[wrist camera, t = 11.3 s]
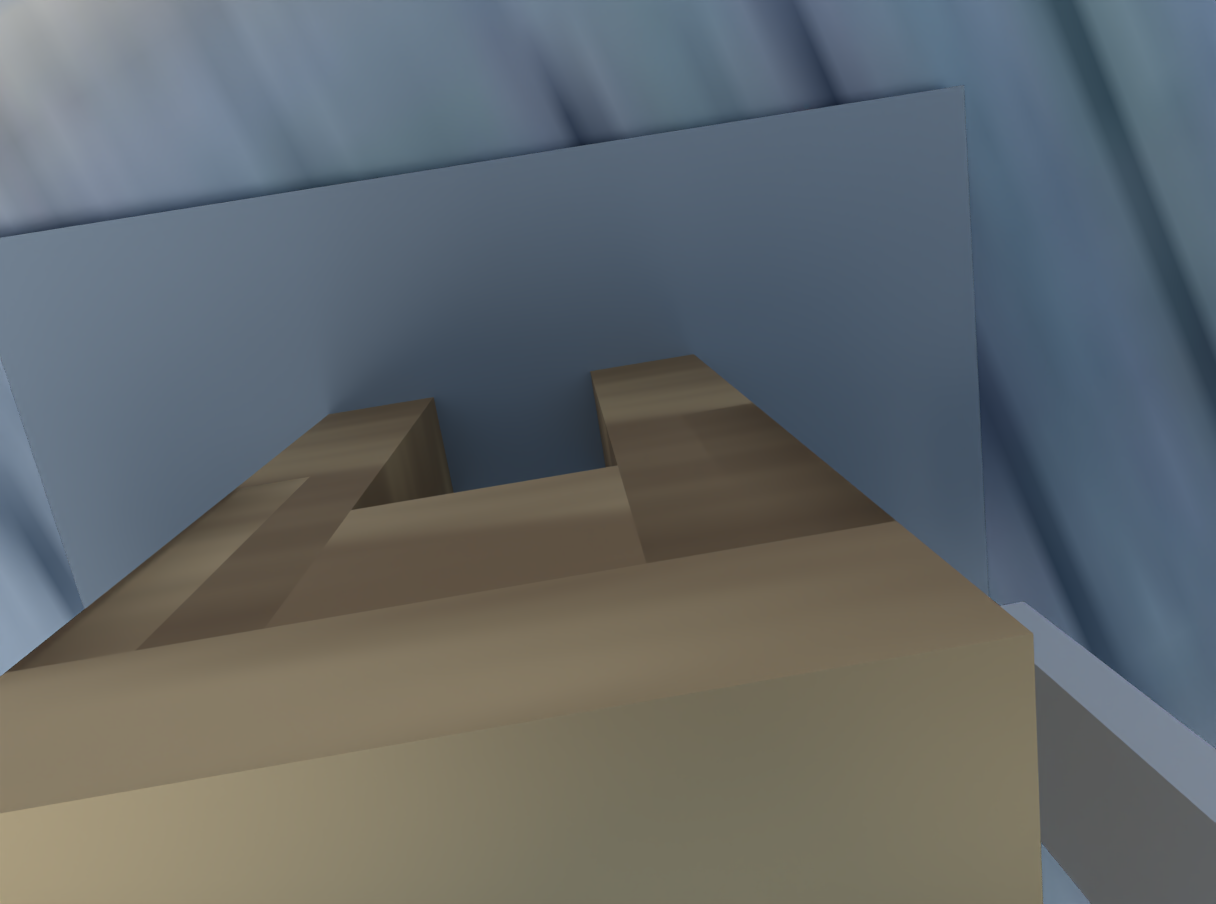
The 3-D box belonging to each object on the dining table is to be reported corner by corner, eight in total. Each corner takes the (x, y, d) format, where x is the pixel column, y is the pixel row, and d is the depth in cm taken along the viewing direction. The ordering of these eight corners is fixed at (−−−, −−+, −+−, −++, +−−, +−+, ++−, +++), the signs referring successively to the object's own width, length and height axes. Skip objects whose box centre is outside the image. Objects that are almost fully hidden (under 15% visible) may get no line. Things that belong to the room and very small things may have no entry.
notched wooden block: (752, 803, 19) (1071, 1697, 7) (436, 860, 19) (250, 1865, 7) (694, 354, 17) (1033, 632, 5) (328, 414, 16) (-221, 852, 5)
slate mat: (944, 92, 16) (963, 85, 16) (987, 884, 21) (1004, 908, 20) (-10, 243, 16) (-38, 243, 15) (242, 1018, 20) (230, 1050, 20)
